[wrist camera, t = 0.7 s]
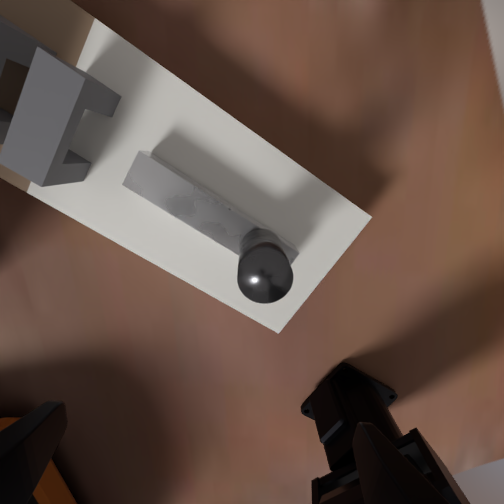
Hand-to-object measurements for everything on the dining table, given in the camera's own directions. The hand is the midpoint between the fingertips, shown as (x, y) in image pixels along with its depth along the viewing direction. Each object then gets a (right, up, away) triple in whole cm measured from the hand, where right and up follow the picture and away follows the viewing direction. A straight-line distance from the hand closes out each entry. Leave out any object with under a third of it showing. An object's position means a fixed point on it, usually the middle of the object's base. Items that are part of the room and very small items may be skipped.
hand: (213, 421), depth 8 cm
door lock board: (-4, +10, +10) cm, 15 cm away
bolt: (-1, +7, +8) cm, 11 cm away
